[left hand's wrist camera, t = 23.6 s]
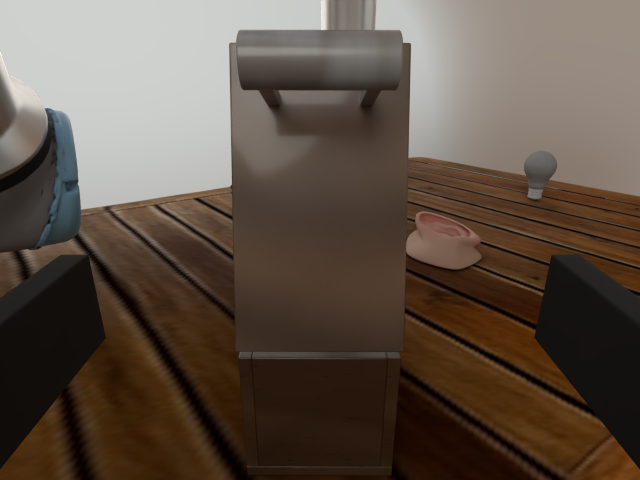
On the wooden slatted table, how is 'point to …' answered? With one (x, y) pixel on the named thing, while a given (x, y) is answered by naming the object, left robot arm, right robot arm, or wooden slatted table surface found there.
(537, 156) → the light bulb
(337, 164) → the lid
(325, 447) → the chest
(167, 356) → the wooden slatted table surface
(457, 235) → the anatomical model
